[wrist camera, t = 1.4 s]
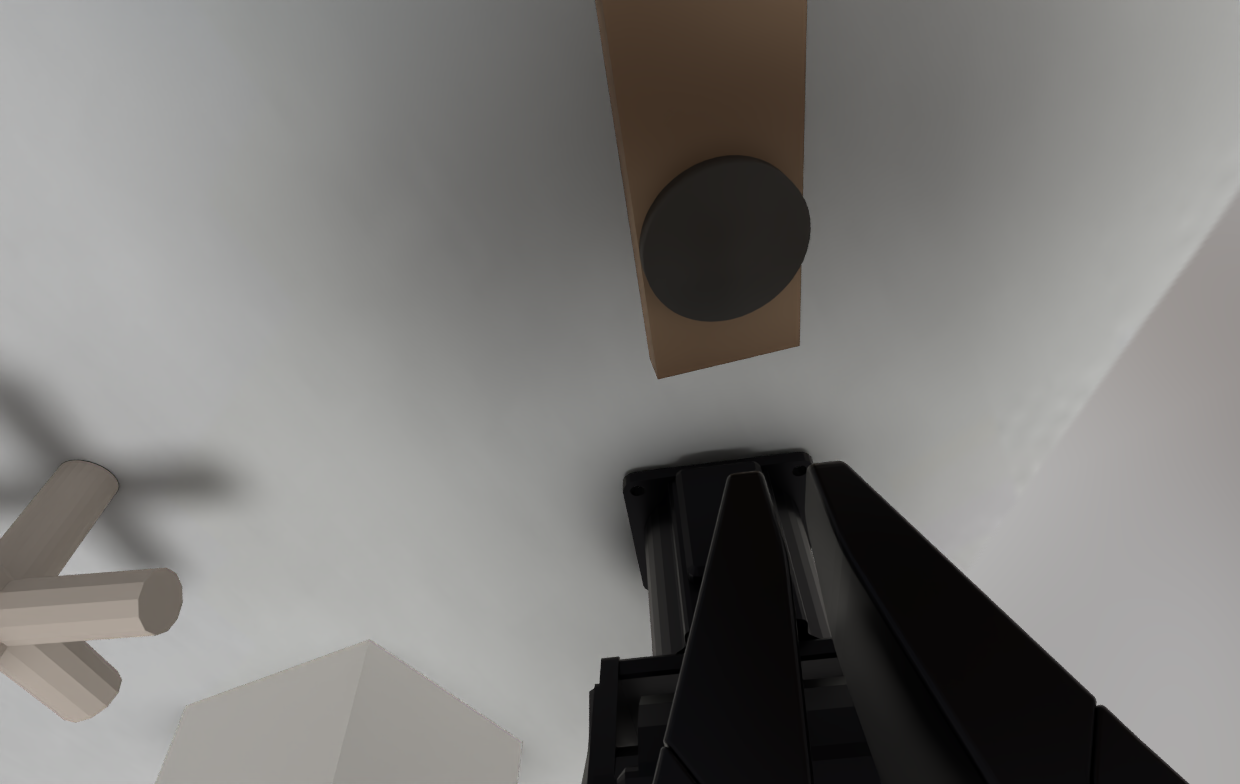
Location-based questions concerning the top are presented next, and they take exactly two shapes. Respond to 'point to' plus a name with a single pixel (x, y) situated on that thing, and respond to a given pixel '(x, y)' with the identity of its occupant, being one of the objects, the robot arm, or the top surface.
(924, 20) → the top surface
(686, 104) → the lever
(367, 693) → the milk
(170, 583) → the wooden jack toy
